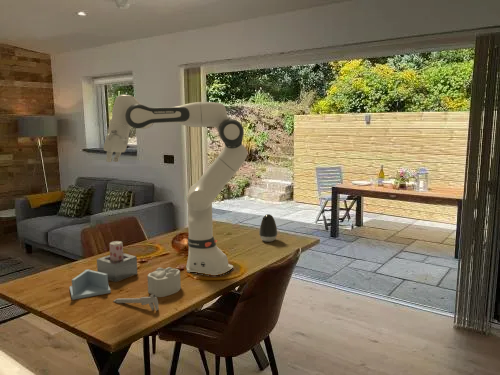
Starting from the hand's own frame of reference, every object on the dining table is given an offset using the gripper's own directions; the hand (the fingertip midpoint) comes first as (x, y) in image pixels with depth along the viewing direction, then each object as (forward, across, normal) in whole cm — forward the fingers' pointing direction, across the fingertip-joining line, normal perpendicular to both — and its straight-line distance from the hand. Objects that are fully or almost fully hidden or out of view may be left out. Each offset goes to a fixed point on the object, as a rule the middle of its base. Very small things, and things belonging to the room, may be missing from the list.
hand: (112, 161), depth 190 cm
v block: (+52, -20, -8) cm, 56 cm away
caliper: (+48, -34, -30) cm, 66 cm away
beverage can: (+49, -2, -14) cm, 51 cm away
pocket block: (+49, -2, -14) cm, 51 cm away
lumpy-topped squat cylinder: (+44, -19, -38) cm, 62 cm away
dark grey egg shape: (+28, +50, -80) cm, 98 cm away
